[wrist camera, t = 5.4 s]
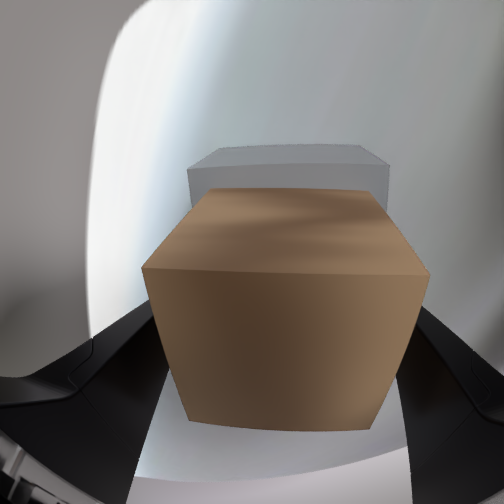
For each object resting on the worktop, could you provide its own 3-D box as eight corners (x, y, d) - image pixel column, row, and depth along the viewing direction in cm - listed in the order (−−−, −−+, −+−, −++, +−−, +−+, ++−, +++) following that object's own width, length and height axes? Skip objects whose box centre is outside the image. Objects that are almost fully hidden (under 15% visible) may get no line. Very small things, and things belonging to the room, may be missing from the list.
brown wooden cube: (368, 190, 10) (430, 275, 5) (351, 317, 12) (369, 429, 7) (210, 188, 10) (141, 267, 6) (223, 313, 13) (189, 420, 8)
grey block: (359, 145, 14) (389, 165, 9) (353, 269, 17) (369, 326, 12) (219, 148, 15) (186, 169, 10) (232, 269, 18) (212, 325, 13)
